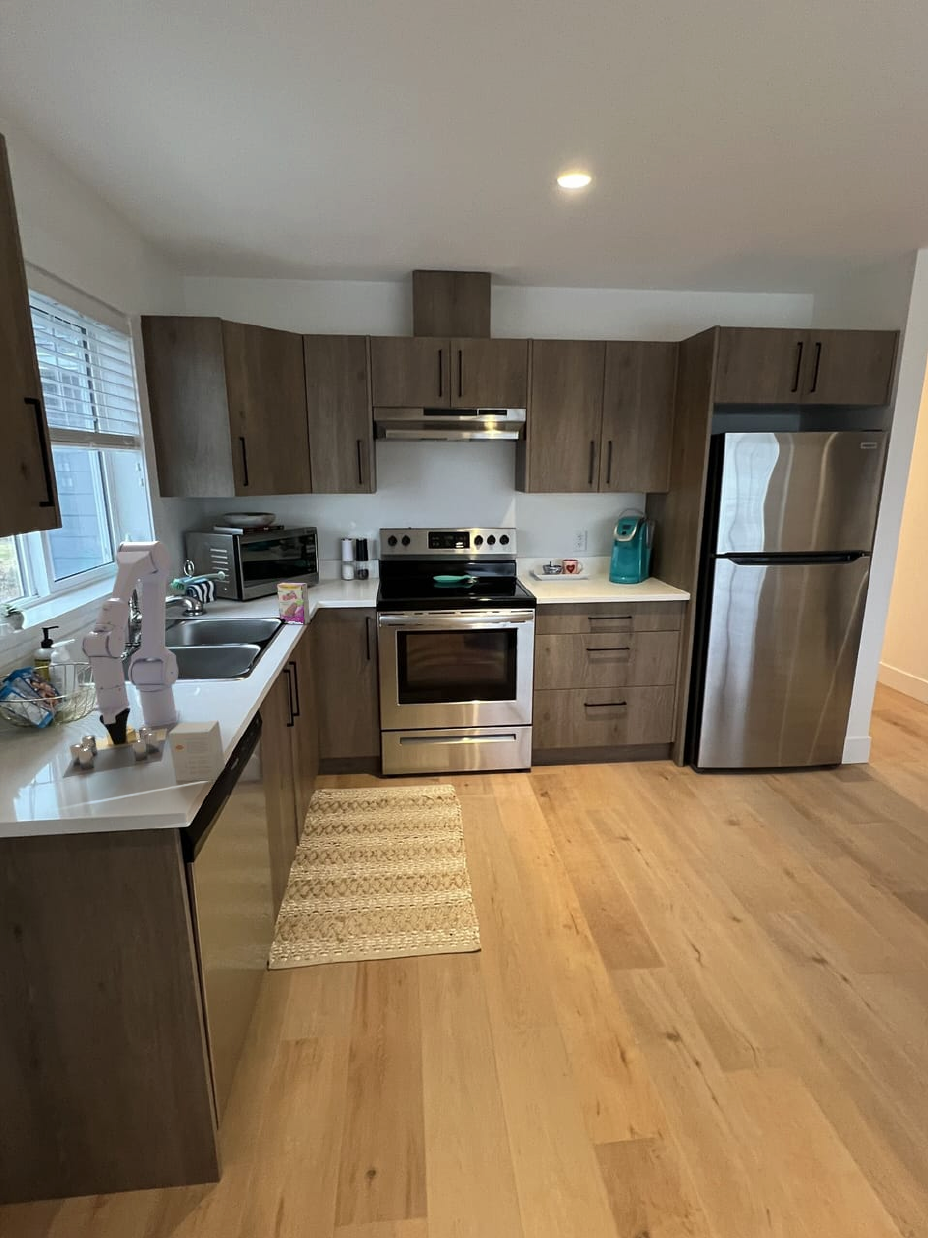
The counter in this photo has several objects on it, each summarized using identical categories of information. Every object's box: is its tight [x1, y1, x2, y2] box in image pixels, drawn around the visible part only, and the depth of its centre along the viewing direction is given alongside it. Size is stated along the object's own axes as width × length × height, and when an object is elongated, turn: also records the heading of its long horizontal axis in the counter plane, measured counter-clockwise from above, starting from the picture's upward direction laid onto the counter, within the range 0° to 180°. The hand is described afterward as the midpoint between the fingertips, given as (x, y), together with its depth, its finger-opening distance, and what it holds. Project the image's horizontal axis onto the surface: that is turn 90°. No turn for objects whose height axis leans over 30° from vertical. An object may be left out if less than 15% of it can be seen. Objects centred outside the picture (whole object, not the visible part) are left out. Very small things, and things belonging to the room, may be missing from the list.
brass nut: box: [106, 725, 137, 747], centre depth 143 cm, size 5×6×3 cm
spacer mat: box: [62, 728, 168, 779], centre depth 138 cm, size 19×18×1 cm
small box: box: [168, 720, 226, 782], centre depth 125 cm, size 8×6×10 cm
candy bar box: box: [276, 582, 311, 626], centre depth 254 cm, size 11×5×16 cm, turn 77°
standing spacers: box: [69, 727, 159, 770], centre depth 135 cm, size 9×16×4 cm, turn 111°
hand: (119, 743), depth 139 cm, fingers closed
